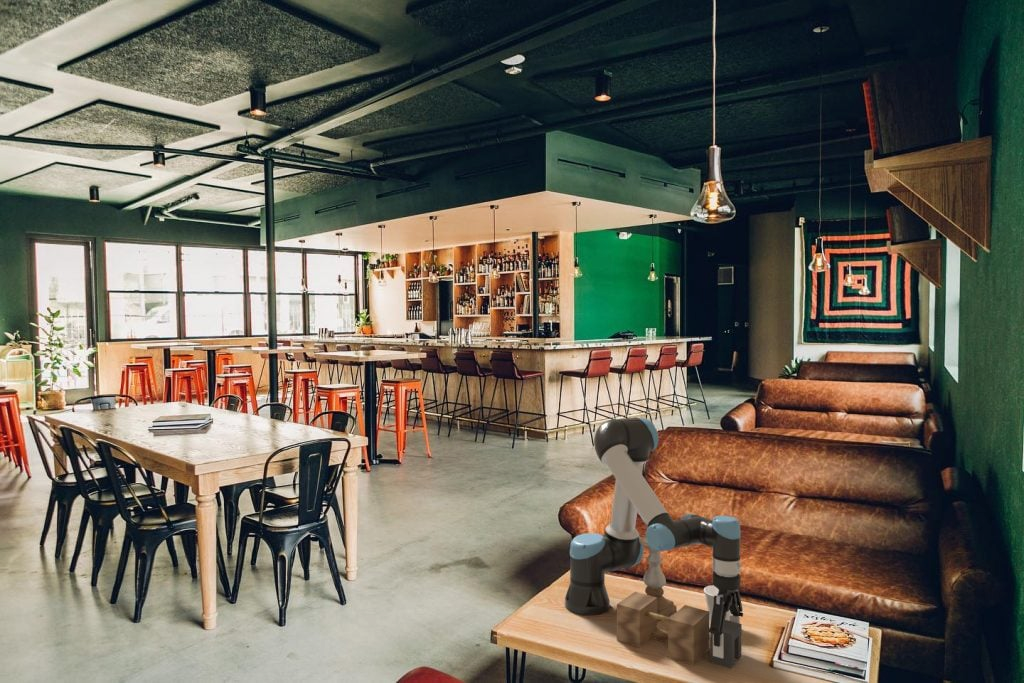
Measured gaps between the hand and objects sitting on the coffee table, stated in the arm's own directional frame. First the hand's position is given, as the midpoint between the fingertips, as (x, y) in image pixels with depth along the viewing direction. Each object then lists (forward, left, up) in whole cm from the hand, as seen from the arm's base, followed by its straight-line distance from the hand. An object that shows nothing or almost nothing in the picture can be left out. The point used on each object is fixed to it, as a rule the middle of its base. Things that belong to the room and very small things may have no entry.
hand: (726, 647), depth 183 cm
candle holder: (-30, +17, -4) cm, 35 cm away
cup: (-9, +20, -4) cm, 22 cm away
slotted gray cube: (0, 0, -3) cm, 3 cm away
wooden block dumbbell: (-18, -3, -3) cm, 19 cm away
